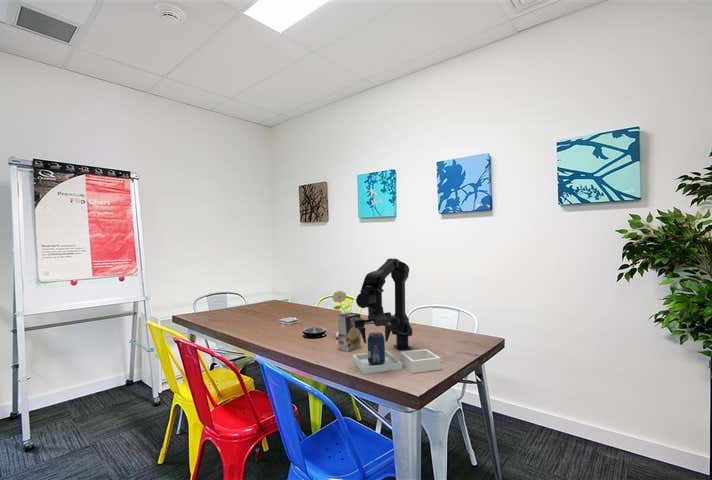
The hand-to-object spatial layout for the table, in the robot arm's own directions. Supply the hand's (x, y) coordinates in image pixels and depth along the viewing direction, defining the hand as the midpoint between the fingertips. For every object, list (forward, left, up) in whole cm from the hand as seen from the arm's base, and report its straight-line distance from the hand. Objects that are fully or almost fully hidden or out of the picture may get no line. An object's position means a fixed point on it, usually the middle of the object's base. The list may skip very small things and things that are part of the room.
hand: (375, 342), depth 139 cm
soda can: (0, 0, -9) cm, 9 cm away
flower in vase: (-44, -3, -9) cm, 45 cm away
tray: (0, 0, -9) cm, 9 cm away
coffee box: (-25, -5, -9) cm, 27 cm away
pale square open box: (+7, +16, -9) cm, 20 cm away
